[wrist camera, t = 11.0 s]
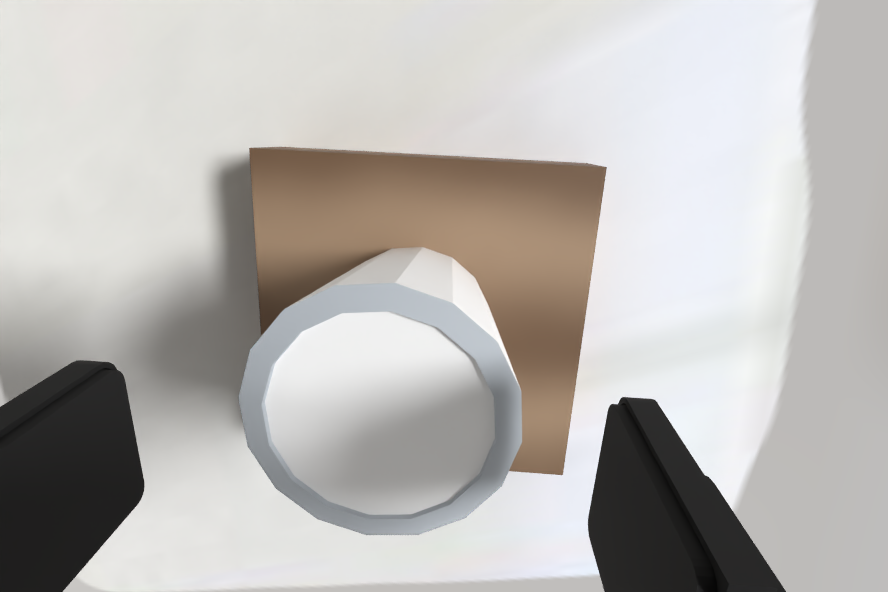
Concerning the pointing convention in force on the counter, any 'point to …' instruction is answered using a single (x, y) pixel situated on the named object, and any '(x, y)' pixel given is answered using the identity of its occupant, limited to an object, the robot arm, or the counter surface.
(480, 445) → the white and grey cylinder
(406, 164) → the walnut base
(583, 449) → the counter surface
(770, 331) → the counter surface
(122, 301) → the counter surface
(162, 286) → the counter surface
